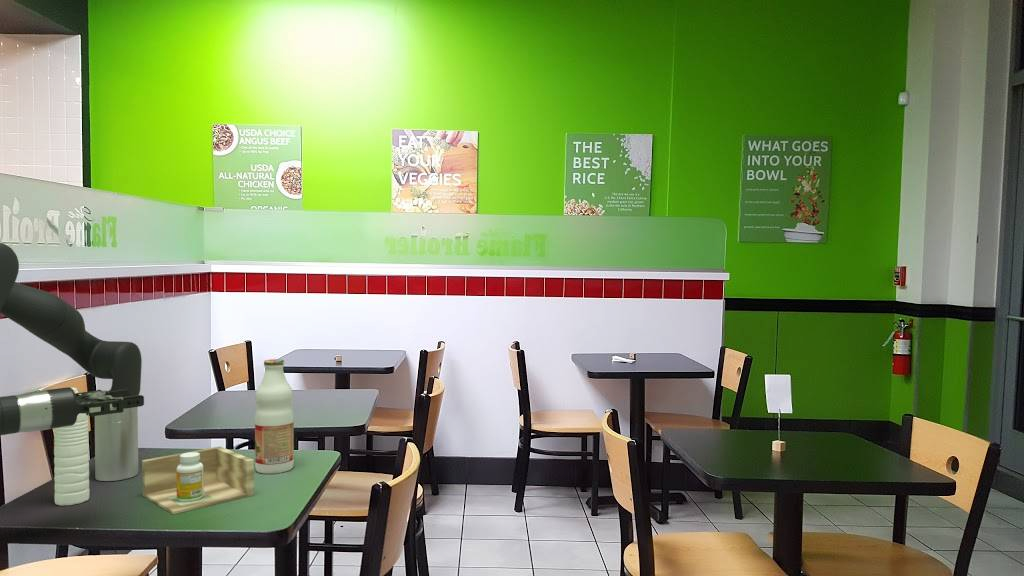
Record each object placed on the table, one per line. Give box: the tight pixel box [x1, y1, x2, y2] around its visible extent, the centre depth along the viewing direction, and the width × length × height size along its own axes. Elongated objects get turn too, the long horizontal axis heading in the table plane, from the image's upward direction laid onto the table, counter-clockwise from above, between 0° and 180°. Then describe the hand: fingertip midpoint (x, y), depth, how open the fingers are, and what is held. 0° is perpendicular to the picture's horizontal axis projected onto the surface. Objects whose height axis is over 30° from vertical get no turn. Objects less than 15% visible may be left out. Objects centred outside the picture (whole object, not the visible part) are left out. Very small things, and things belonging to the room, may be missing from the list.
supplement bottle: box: [176, 451, 204, 502], centre depth 153 cm, size 5×5×10 cm
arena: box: [141, 446, 255, 515], centre depth 158 cm, size 18×18×8 cm
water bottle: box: [53, 387, 90, 506], centre depth 152 cm, size 9×6×25 cm
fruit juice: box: [254, 358, 295, 475], centre depth 178 cm, size 9×9×28 cm
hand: (135, 397), depth 145 cm, fingers open, 8 cm apart
